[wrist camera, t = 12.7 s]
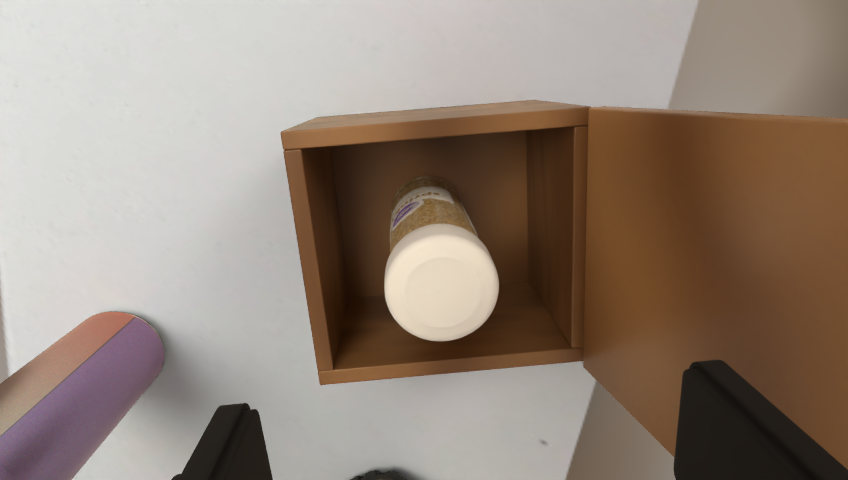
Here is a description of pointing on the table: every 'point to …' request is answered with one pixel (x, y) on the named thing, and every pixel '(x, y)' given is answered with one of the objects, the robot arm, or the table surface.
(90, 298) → the table surface
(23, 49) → the table surface
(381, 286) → the brown wooden open box
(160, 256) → the table surface
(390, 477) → the hiking shoe
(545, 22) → the table surface
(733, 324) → the wooden box lid
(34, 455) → the beverage can
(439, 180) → the sprinkles bottle
